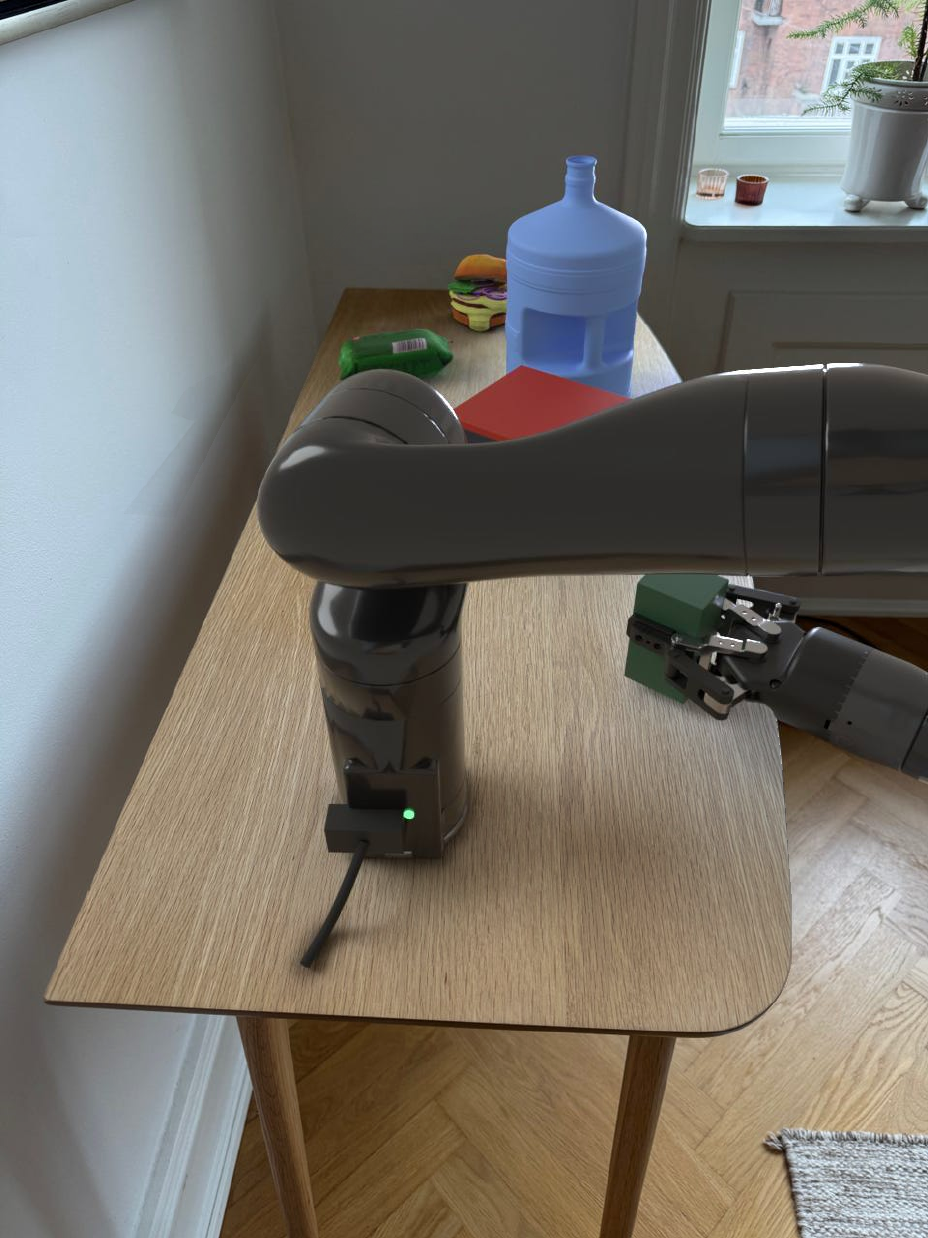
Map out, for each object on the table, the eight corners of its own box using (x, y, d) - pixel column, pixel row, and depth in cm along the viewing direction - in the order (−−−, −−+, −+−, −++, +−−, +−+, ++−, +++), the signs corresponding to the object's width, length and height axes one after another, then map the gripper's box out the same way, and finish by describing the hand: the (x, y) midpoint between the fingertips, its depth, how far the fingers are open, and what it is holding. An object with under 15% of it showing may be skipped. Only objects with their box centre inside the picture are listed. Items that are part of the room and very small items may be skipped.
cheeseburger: (442, 331, 131) (442, 256, 126) (455, 319, 140) (455, 249, 136) (512, 333, 129) (515, 258, 125) (521, 321, 139) (523, 250, 134)
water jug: (487, 383, 119) (486, 148, 100) (598, 365, 122) (617, 134, 104) (530, 442, 107) (539, 188, 89) (651, 419, 111) (683, 171, 92)
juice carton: (683, 704, 74) (703, 610, 67) (623, 676, 76) (636, 582, 70) (708, 673, 76) (729, 579, 70) (649, 646, 79) (664, 553, 72)
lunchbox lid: (444, 421, 92) (444, 414, 91) (521, 371, 100) (521, 364, 99) (604, 479, 83) (605, 472, 82) (674, 419, 91) (675, 412, 90)
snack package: (461, 380, 120) (460, 342, 116) (342, 395, 117) (338, 356, 113) (448, 357, 125) (447, 320, 122) (334, 371, 122) (330, 334, 119)
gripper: (903, 606, 67) (692, 526, 75) (833, 722, 59) (603, 619, 67) (874, 678, 72) (679, 597, 80) (806, 795, 64) (594, 691, 72)
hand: (645, 607), depth 73 cm, fingers closed on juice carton, 4 cm apart
